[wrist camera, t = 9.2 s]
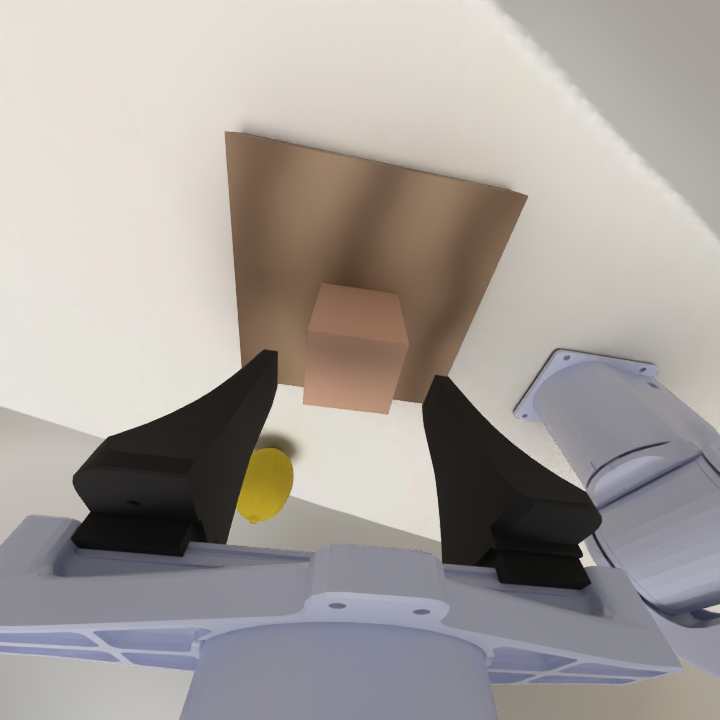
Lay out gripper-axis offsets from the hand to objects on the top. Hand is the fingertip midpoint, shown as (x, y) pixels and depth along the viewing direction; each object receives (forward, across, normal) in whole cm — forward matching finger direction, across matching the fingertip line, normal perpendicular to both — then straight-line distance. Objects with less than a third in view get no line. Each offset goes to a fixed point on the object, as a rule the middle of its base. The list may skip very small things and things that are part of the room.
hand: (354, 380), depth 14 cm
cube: (+8, 0, +1) cm, 8 cm away
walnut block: (+10, 0, 0) cm, 10 cm away
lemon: (+11, +6, +20) cm, 23 cm away
